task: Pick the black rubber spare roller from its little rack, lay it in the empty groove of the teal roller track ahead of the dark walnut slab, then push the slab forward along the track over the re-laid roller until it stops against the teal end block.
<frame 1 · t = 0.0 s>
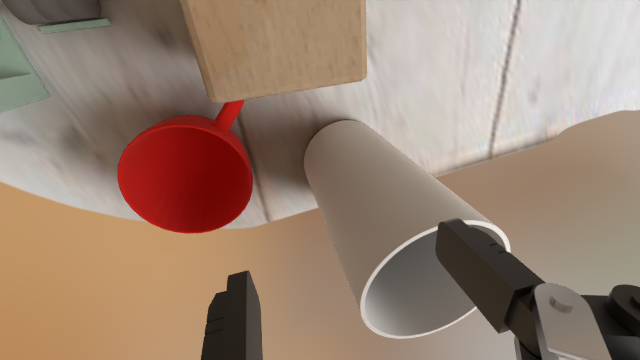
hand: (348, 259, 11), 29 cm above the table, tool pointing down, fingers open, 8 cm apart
ceramic cup: (210, 137, 37), on the table
cylinder vase: (341, 157, 42), on the table
wooden block: (262, 16, 31), on the table
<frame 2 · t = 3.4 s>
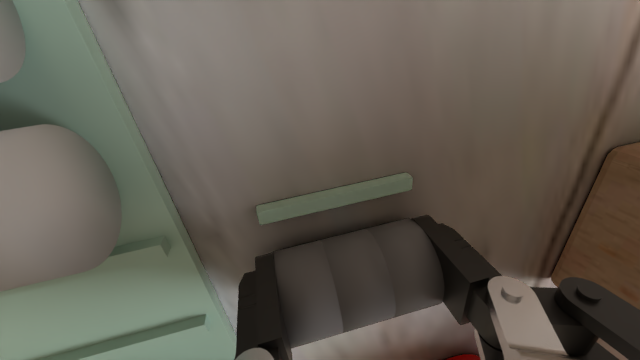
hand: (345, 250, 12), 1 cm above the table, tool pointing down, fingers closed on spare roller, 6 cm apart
spare roller: (340, 238, 12), on the table, tilted 24°, touching gripper, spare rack
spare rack: (339, 236, 12), on the table
cylinder vase: (608, 344, 28), on the table
roller track: (19, 235, 9), on the table
wooden block: (634, 203, 17), on the table
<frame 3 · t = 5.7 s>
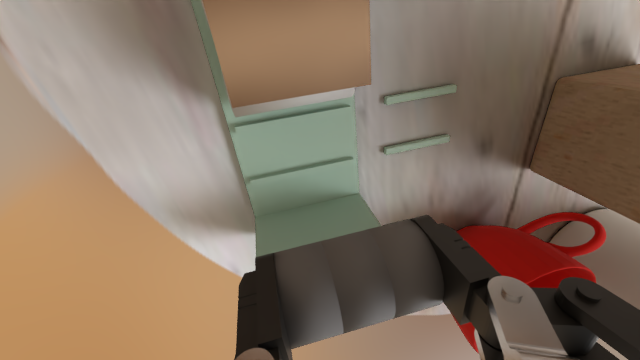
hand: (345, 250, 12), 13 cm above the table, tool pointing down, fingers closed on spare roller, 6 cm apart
spare roller: (340, 239, 12), point 12 cm above the table, tilted 24°, touching gripper
ceramic cup: (474, 234, 34), on the table
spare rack: (417, 119, 24), on the table
cylinder vase: (574, 241, 40), on the table
roller track: (290, 101, 21), on the table
wooden block: (577, 119, 29), on the table
when the fingers open (2 cm above the table, at t = 8.1 s): spare roller stays where it is, resting on roller track.
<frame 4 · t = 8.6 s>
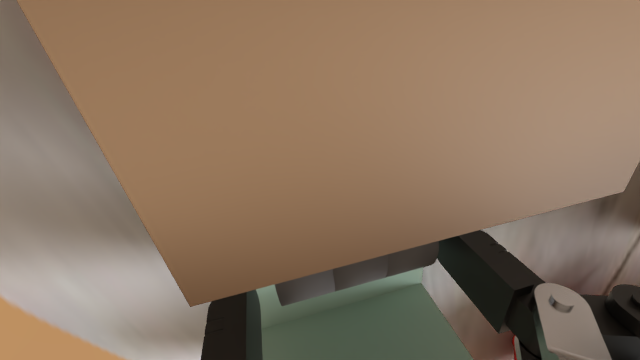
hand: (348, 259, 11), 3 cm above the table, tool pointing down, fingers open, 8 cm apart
spare roller: (336, 228, 13), point 1 cm above the table, tilted 24°, touching roller track
roller track: (323, 156, 12), on the table
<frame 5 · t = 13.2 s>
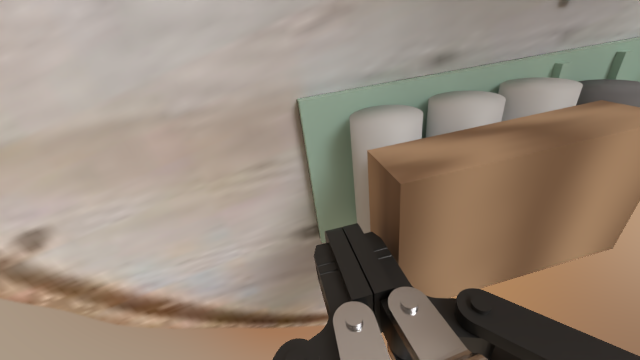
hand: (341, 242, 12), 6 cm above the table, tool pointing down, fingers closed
spare roller: (567, 125, 19), point 1 cm above the table, tilted 10°, touching roller track
walnut slab: (501, 204, 13), point 6 cm above the table, slide at 1.0 cm, touching gripper
roller track: (516, 132, 19), on the table
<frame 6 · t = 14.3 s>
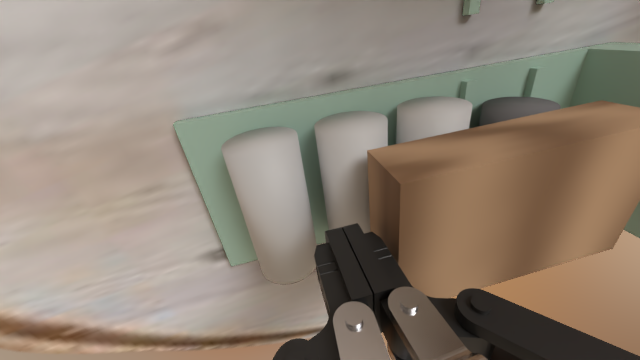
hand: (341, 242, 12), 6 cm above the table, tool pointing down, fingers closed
spare roller: (486, 143, 18), point 1 cm above the table, touching roller track
walnut slab: (501, 204, 13), point 6 cm above the table, slide at 7.4 cm, touching gripper
roller track: (434, 150, 18), on the table
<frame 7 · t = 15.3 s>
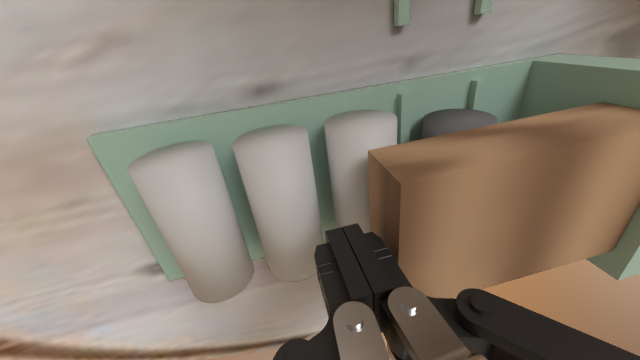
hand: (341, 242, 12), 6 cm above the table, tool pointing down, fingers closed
spare roller: (432, 155, 18), point 1 cm above the table, touching roller track
walnut slab: (502, 205, 13), point 6 cm above the table, slide at 11.4 cm, touching gripper
roller track: (379, 163, 18), on the table
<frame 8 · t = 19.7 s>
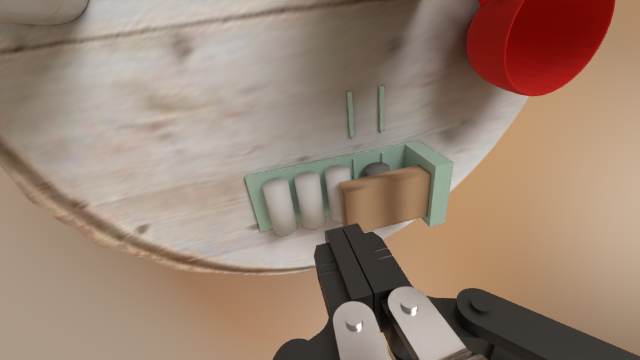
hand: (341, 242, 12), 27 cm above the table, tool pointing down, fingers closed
spare roller: (369, 180, 43), point 1 cm above the table, tilted 22°, touching roller track
walnut slab: (384, 199, 38), point 6 cm above the table, slide at 11.4 cm
ceramic cup: (479, 23, 36), on the table
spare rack: (365, 111, 38), on the table
roller track: (347, 183, 43), on the table
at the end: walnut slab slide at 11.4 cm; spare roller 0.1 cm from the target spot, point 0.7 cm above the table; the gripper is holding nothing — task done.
